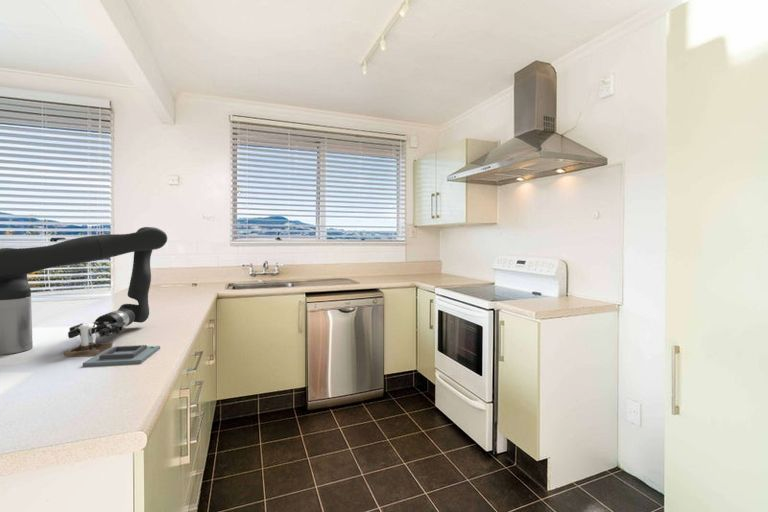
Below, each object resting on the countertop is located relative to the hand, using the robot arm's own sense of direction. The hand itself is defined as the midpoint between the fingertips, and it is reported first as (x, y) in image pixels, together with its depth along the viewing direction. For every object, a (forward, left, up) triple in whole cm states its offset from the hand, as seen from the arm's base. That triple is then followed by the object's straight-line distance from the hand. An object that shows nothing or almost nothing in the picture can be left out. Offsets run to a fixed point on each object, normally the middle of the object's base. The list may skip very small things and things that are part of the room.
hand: (85, 334), depth 112 cm
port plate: (+13, -6, -6) cm, 16 cm away
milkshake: (0, +2, -6) cm, 6 cm away
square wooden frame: (0, +2, -6) cm, 6 cm away
